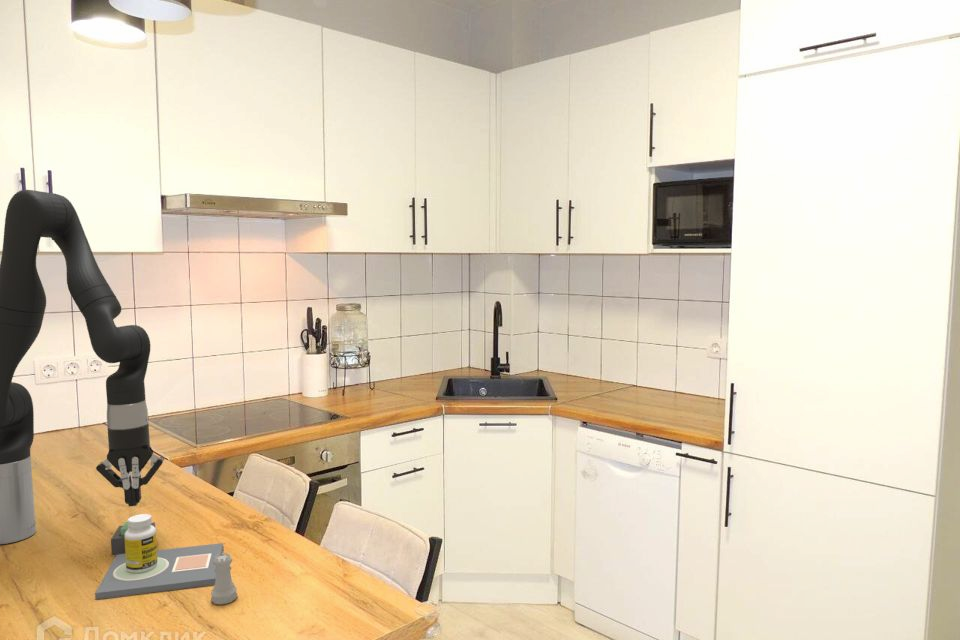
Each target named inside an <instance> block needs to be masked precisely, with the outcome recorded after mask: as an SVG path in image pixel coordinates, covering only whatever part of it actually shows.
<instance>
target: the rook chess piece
mask: <svg viewBox="0 0 960 640" xmlns="http://www.w3.org/2000/svg"><path fill="white" fill-rule="evenodd" d="M232 562H233V558H232V557H231V554H230V553H229V552H226V553H225V552H223V553H222V556H220V554H218V555H216V556H215V560H214V561H213V564H214V565H215V566H216V569H215V572H216V581H215V585H213V587H212V590H211V593H210V596H211V598H210V601H211V602H212V603H213V604H214V605H218V606H223V605H227V604H231V603H233V602H234V601H235V600H236V598H237V597H238V592H237V590H238V589H237V587H236V585H235V584H234V582H233V579H232V576H231V575H232V573H231V570H232V567H231V564H232Z"/></svg>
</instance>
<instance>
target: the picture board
mask: <svg viewBox="0 0 960 640" xmlns="http://www.w3.org/2000/svg"><path fill="white" fill-rule="evenodd" d="M224 548H225V547H224V543H223V542H219V543H212V544H209V543H208V544H202V545H201V544H200V545H191V546H184V547H182V546H181V547H174V548H165V549H157V565H156V566H155V567H154V568H153V569H151V570H149V571H146V572H141V573H131V572H129V571H127V569H126V556H125V554H118V555H115V557H114V558H113V560H112V562H111V564H110V566H109V567H108V569H107V571H106V572H105V573H106V574H104V577H103V578H102V580H101V582H100V583H99V585H98V587H97V589H96V590H95V593H94V598H95V600H96V601H97V600H102V599H112V598H119V597H128V596H134V595H143V594H144V593H145V594H152V593H159V592H161V593H162V592H168V591H169V592H170V591H176V590H184V589H192V588H201V587H208V586H215V581H216V572H215V569H216V566H215V565H214V564H213V561H214V560H215V556H216V555H218V554H220V556H222V553H224Z"/></svg>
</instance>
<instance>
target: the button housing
mask: <svg viewBox="0 0 960 640" xmlns="http://www.w3.org/2000/svg"><path fill="white" fill-rule="evenodd" d="M151 525H152V526H154V527H155V528H156V522H154V521H152V523H151ZM122 526H123V525H119V526H118V527H117V528H116V530H115V532H114V533H113V535H112V537H111V538H110V548H111V556H112V557H113V556H115V557H116V555H118V554H125V536H121V530H120V529H121V528H122Z"/></svg>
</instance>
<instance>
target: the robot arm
mask: <svg viewBox="0 0 960 640" xmlns="http://www.w3.org/2000/svg"><path fill="white" fill-rule="evenodd" d="M6 208H7V209H6V211H5V218H4V228H3V240H2V250H1V260H0V545H5V544H6V545H7V544H11V543H16V542H19V541H22V540H26V539H28V538H30V537H31V536H33V535H34V534H35V533H36V530H37V529H36V528H37V527H36V524H37V523H36V515H35V514H36V511H35V510H36V509H35V498H34V486H33V485H34V484H33V471H32V470H33V469H32V457H31V448H32V444H33V443H34V438H35V436H34V435H35V433H34V432H35V431H34V430H35V429H34V428H35V427H34V426H35V425H34V423H35V422H34V421H35V420H34V419H35V418H34V403H33V398H32V396H31V393H30V392H29V390H28V389H27V388H26V387H25V386H24V385H22V384H21V383H17V382H13V378H14V375H15V372H16V369H17V368H18V367H19V364H20V363H21V361H22V360H23V358H24V357H25V355H27V353H28V351H29V350H30V348H31V347H32V346H33V344H34V343H35V341H36V339H37V338H38V335H39V333H40V332H41V328H42V325H43V320H44V315H45V312H46V308H47V296H46V292H45V288H44V286H43V283H42V281H41V277H40V276H39V273H38V269H37V255H38V248H39V244H40V242H41V238H50V239H52V241H53V242H54V243H55V244H56V246H57V247H58V248H59V249H60V251H61V252H62V254H63V256H64V260H65V267H66V284H67V288H68V291H69V293H70V295H71V297H72V300H73V301H74V303H75V304H76V306H77V308H78V309H79V312H80V313H81V315H82V317H84V320H85V325H86V329H87V332H88V337H89V340H90V346H91V348H92V350H93V352H94V354H95V355H96V356H97V357H98V358H99V359H100V360H101V361H103V362H105V363H108V364H117V363H119V364H118V368H117V370H116V371H114V372H113V373H112V374H111V373H110V375H108V376H107V378H106V379H105V390H106V391H105V392H106V394H105V395H106V425H107V440H108V453H107V455H106V458H105V459H104V460H103V461H100V462H99V463H98V464H97V465H96V467H95V470H96V471H97V472H98V473H99V474H100V475H101V476H102V477H103V478H105V479H106V480H107V481H108V482H109V484H110V485H112V486H113V487H114V488H122V490H123V493H124V503H125V505H127V506H128V507H137V506H138V504H139V503H140V502H141V500H142V488H141V487H142V486H145V485H148V483H149V482H150V481H151V479H153V476H154V475H155V474H156V472H157V471H158V470H159V468H160V467H161V466H162V464H163V463H164V462H165V458H164V457H163V456H160V457H159V456H158V455H156V454H154V451H153V450H154V449H153V448H152V446H151V442H150V441H151V440H150V427H149V426H150V425H149V424H150V423H149V419H150V418H149V412H148V407H147V402H146V401H147V400H146V399H147V398H146V387H145V386H146V385H145V377H146V374H147V370H148V365H149V360H150V354H151V341H150V337H149V334H148V333H147V331H146V330H145V329H144V328H143V327H142V326H140V325H137V324H129V325H122V326H117V325H116V323H115V321H114V320H115V319H116V318H117V317H119V316H120V314H121V312H122V305H121V303H120V301H119V299H118V298H117V296H116V294H115V293H114V291H113V289H112V288H111V286H110V284H109V283H108V281H107V280H106V278H105V275H103V273H102V270H101V269H100V267H99V264H98V263H97V260H96V258H95V256H94V253H93V250H92V248H91V246H90V243H89V241H88V238H87V236H86V233H85V230H84V228H83V225H82V222H81V220H80V218H79V215H78V213H77V211H76V208H75V207H74V205H73V203H72V202H71V200H69V198H67V197H65V196H63V195H61V194H57V193H54V192H47V191H40V190H39V191H38V190H34V189H22V190H19V191H17V192H15V193H14V194H13V195H12V197H11V198H10V200H9V202H8V203H7V207H6ZM149 460H150V463H149V464H150V466H151V468H150V469H149V470H148V471H147V473H146V474H145V476H143V477H142V472H143V471H142V470H143V469H144V468H145V466H146V465H147V463H148V462H149ZM112 466H113V468H115V470H117V471H118V472H119V473H120V475H119V474H118V473H116V472H115V471H114V470H113V469H112Z"/></svg>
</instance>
